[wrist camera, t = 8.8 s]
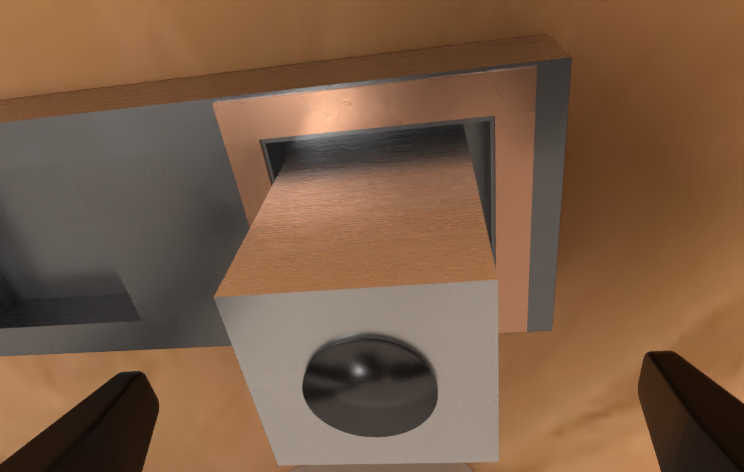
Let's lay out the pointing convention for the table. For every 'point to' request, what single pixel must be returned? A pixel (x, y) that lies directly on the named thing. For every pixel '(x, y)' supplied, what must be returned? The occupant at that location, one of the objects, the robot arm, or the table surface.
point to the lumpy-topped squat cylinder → (386, 467)
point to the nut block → (370, 304)
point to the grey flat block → (251, 184)
